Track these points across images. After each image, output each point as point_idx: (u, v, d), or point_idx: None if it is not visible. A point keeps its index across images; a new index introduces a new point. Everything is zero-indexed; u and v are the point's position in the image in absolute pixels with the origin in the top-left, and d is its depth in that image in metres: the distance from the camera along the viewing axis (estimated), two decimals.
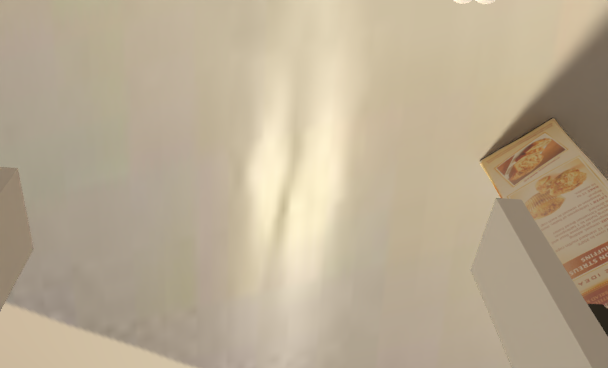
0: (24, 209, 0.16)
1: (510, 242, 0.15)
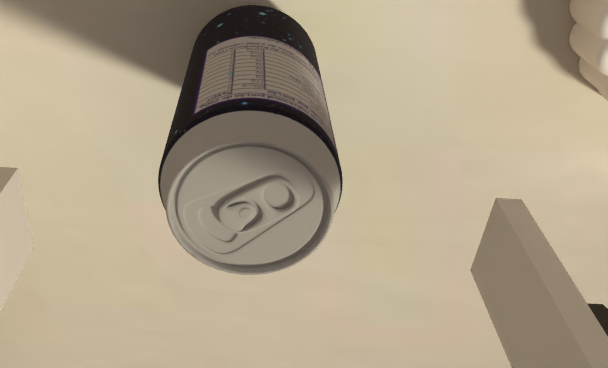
0: (24, 209, 0.16)
1: (510, 242, 0.15)
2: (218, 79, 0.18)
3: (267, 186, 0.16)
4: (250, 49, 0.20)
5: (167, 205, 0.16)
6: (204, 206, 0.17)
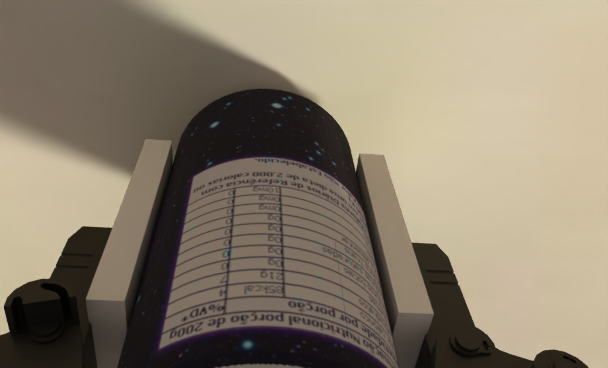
0: None
1: (363, 191, 0.16)
2: (203, 262, 0.11)
3: None
4: (259, 188, 0.13)
5: None
6: None
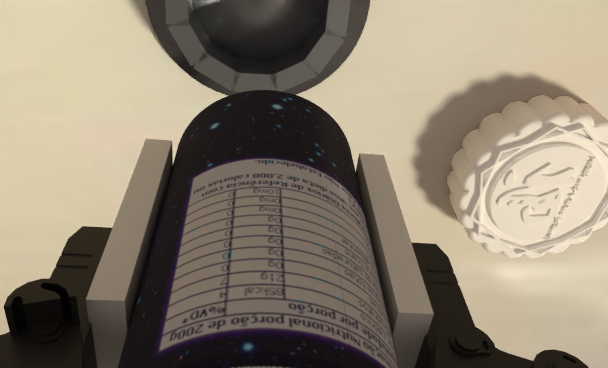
0: None
1: (364, 191, 0.16)
2: (203, 263, 0.11)
3: None
4: (260, 190, 0.13)
5: None
6: None
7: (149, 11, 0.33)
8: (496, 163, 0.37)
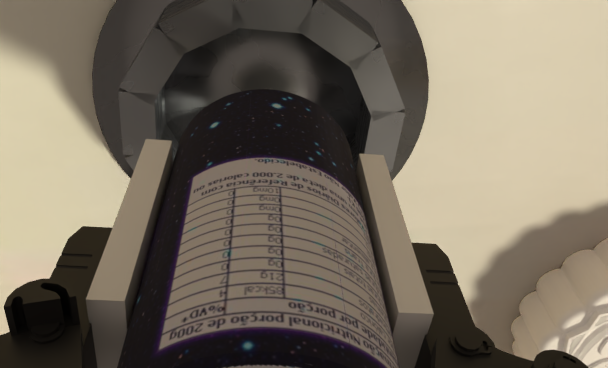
0: None
1: (364, 191, 0.16)
2: (204, 262, 0.11)
3: None
4: (259, 189, 0.13)
5: None
6: None
7: (101, 124, 0.23)
8: (591, 328, 0.26)
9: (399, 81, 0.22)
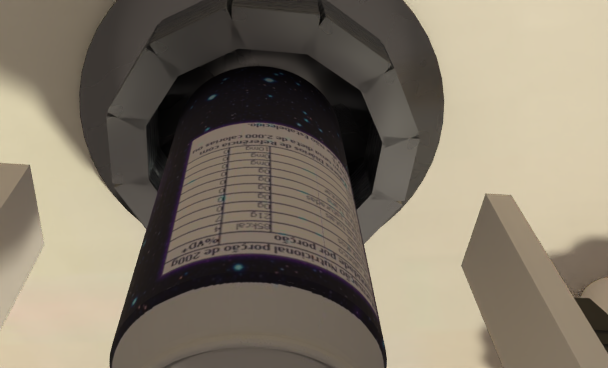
0: (35, 205, 0.16)
1: (499, 237, 0.15)
2: (201, 206, 0.12)
3: None
4: (251, 148, 0.14)
5: None
6: None
7: (90, 148, 0.21)
8: None
9: (412, 102, 0.20)
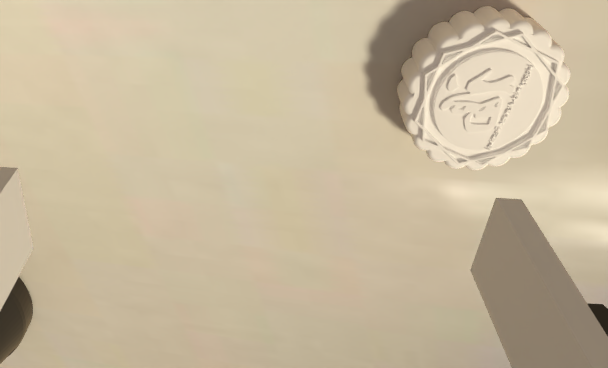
0: (24, 209, 0.16)
1: (510, 242, 0.15)
2: None
3: None
4: None
5: None
6: None
7: None
8: (439, 65, 0.39)
9: None
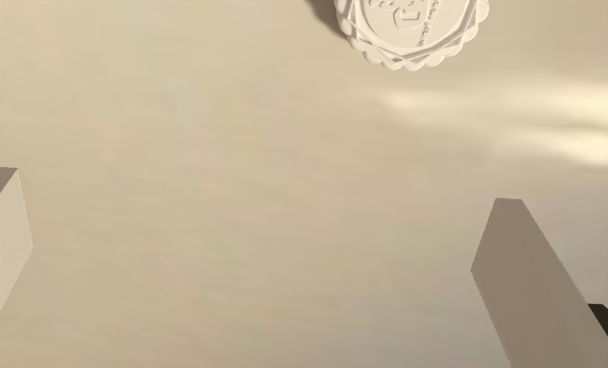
0: (24, 209, 0.16)
1: (510, 242, 0.15)
2: None
3: None
4: None
5: None
6: None
7: None
8: None
9: None
